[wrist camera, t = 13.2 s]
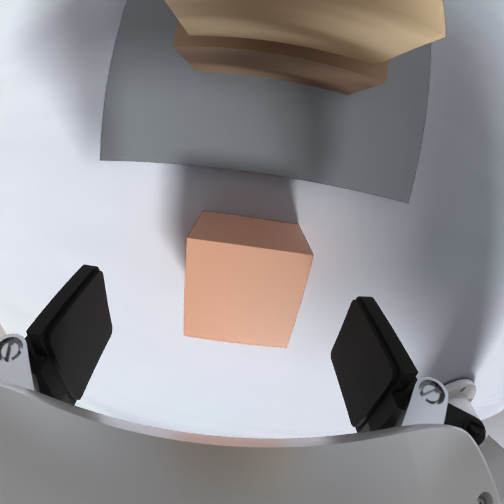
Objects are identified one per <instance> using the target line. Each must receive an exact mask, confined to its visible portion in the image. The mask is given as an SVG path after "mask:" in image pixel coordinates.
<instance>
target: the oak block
mask: <svg viewBox="0 0 504 504" xmlns="http://www.w3.org/2000/svg"><path fill="white" fill-rule="evenodd" d="M164 1H165V2H166V3H167V5H168V6H169V8H170V9H171V10H172V12H173V13H174V15H175V16H176V17H177V19H178V20H179V22H180V23H181V25H182V26H183V27H184V29H185V30H186V32H187V33H188V35H189V36H221V37H238V38H249V39H259V40H267V41H274V42H281V43H287V44H293V45H298V46H303V47H308V48H313V49H317V50H321V51H326V52H330V53H334V54H337V55H341V56H345V57H348V58H351V59H355V60H358V61H361V62H364V63H367V64H370V65H373V66H375V65H378V64H380V63H382V62H384V61H386V60H389V59H391V58H393V57H396V56H398V55H400V54H403V53H405V52H407V51H410V50H412V49H415V48H418V47H420V46H423V45H425V44H428V43H431V42H434V41H436V40H439V39H442V38H445V37H446V30H445V16H444V7H443V0H164Z"/></svg>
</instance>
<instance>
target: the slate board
mask: <svg viewBox="0 0 504 504" xmlns="http://www.w3.org/2000/svg"><path fill="white" fill-rule="evenodd" d="M177 23H178V19H177V17H176V16H175V15H174V13H173V12H172V10H171V9H170V8H169V6H168V5H167V3H166V2H165V1H164V0H127V2H126V5H125V9H124V12H123V15H122V19H121V22H120V26H119V30H118V34H117V38H116V42H115V46H114V51H113V56H112V60H111V66H110V71H109V77H108V83H107V89H106V96H105V104H104V112H103V122H102V134H101V149H100V160H104V161H136V162H155V163H170V164H183V165H194V166H204V167H214V168H223V169H231V170H239V171H247V172H254V173H262V174H268V175H275V176H281V177H287V178H293V179H299V180H305V181H310V182H316V183H321V184H326V185H331V186H336V187H341V188H346V189H351V190H355V191H360V192H364V193H369V194H373V195H377V196H381V197H385V198H389V199H393V200H397V201H401V202H405V203H409V199H410V195H411V191H412V187H413V183H414V179H415V174H416V169H417V164H418V160H419V154H420V149H421V143H422V137H423V131H424V124H425V117H426V109H427V100H428V89H429V76H430V53H431V43H428V44H425V45H423V46H420V47H418V48H415V49H412V50H410V51H407V52H405V53H403V54H400V55H398V56H396V57H393V58H391V59H389V61H388V72H387V82H386V83H385V84H382V85H379V86H375V87H372V88H369V89H366V90H363V91H360V92H357V93H354V94H351V95H345V94H341V93H338V92H334V91H330V90H326V89H322V88H318V87H313V86H309V85H304V84H299V83H294V82H289V81H283V80H278V79H271V78H265V77H258V76H250V75H241V74H231V73H219V72H202V71H195V70H194V69H193V68H192V67H191V66H190V65H189V63H188V62H187V61H186V60H185V59H184V58H183V57H182V56H181V55H180V54H179V53H178V52H177V51H176V50H175V49H174V48H173V47H172V46H173V41H174V37H175V32H176V28H177Z"/></svg>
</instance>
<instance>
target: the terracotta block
mask: <svg viewBox="0 0 504 504" xmlns="http://www.w3.org/2000/svg"><path fill="white" fill-rule="evenodd" d="M313 256H314V255H313V253H312V251H311V249H310V247H309V244H308V242H307V240H306V238H305V236H304V234H303V232H302V230H301V228H300V226H299V224H292V223H286V222H279V221H273V220H266V219H259V218H252V217H245V216H238V215H231V214H223V213H215V212H208V211H203V212H202V213H201V215H200V217H199V218H198V220H197V222H196V223H195V225H194V227H193V228H192V230H191V232H190V234H189V235H188V237H187V246H186V264H185V289H184V336H189V337H195V338H202V339H208V340H215V341H223V342H231V343H239V344H248V345H257V346H268V347H279V348H287V347H288V343H289V340H290V337H291V334H292V331H293V327H294V324H295V321H296V317H297V314H298V311H299V307H300V304H301V300H302V297H303V293H304V290H305V286H306V283H307V279H308V275H309V272H310V268H311V264H312V260H313Z"/></svg>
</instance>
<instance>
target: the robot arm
mask: <svg viewBox="0 0 504 504" xmlns="http://www.w3.org/2000/svg"><path fill="white" fill-rule="evenodd" d="M26 332H27V337H26V338H25V339H24V338H23V336H21V335H19V334H8V335H5V336H3V337H1V338H0V504H504V449H503V448H502V447H501V446H500V445H499V444H498V443H497V442H496V441H495V440H493V439H492V438H491V437H490V436H489V435H487V433H486V431H485V427H484V425H483V423H482V422H481V421H480V420H479V418H478V416H477V414H476V412H475V410H474V409H473V407H472V405H471V401H472V400H473V398H474V396H475V392H476V386H475V385H474V383H473V382H472V381H471V380H470V379H461V380H457V381H454V382H451V383H449V384H447V385H443V384H442V383H441V382H440V381H438V380H436V379H435V378H432V377H422V378H420V379H418V380H417V378H416V375H417V373H418V371H417V369H416V367H415V366H414V364H413V362H412V360H411V359H410V357H409V355H408V353H407V352H406V350H405V348H404V347H403V345H402V343H401V341H400V340H399V338H398V336H397V335H396V333H395V332H394V330H393V328H392V327H391V325H390V323H389V322H388V320H387V319H386V317H385V315H384V314H383V312H382V311H381V309H380V308H379V306H378V304H377V303H376V301H375V300H374V298H373V297H362V296H359V297H357V298H356V300H353V301H352V303H351V305H350V308H349V310H348V313H347V315H346V318H345V320H344V323H343V325H342V327H341V330H340V332H339V335H338V337H337V339H336V342H335V344H334V346H333V348H332V351H331V360H332V363H333V366H334V369H335V372H336V376H337V379H338V382H339V385H340V388H341V392H342V395H343V398H344V401H345V405H346V408H347V411H348V415H349V418H350V422H351V424H352V426H353V427H356V431H357V433H353V434H345V435H336V436H326V437H313V438H291V439H256V438H234V437H221V436H210V435H201V434H193V433H186V432H179V431H173V430H167V429H161V428H156V427H151V426H146V425H141V424H137V423H133V422H129V421H124V420H121V419H117V418H113V417H109V416H106V415H103V414H99V413H96V412H93V411H90V410H86V409H83V408H80V407H77V406H74V405H75V403H76V401H77V400H80V399H81V397H82V395H83V393H84V391H85V389H86V386H87V384H88V382H89V380H90V378H91V375H92V373H93V371H94V369H95V367H96V365H97V363H98V361H99V359H100V357H101V354H102V352H103V350H104V348H105V346H106V344H107V342H108V340H109V339H110V337H111V334H112V323H111V318H110V313H109V308H108V302H107V296H106V290H105V283H104V276H103V273H102V271H100V270H99V268H98V267H96V266H90V265H83V266H82V267H81V268H80V269H79V270H78V271H77V272H76V273H75V274H74V275H73V276H72V277H71V279H70V280H69V281H68V282H67V283H66V284H65V285H64V286H63V287H62V289H61V290H60V291H59V292H58V293H57V294H56V295H55V297H54V298H53V299H52V300H51V301H50V302H49V304H48V305H47V306H46V307H45V308H44V310H43V311H42V312H41V313H40V314H39V316H38V317H37V318H36V319H35V321H34V322H33V323H32V324H31V326H30V327H29V328H28V330H27V331H26Z"/></svg>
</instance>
